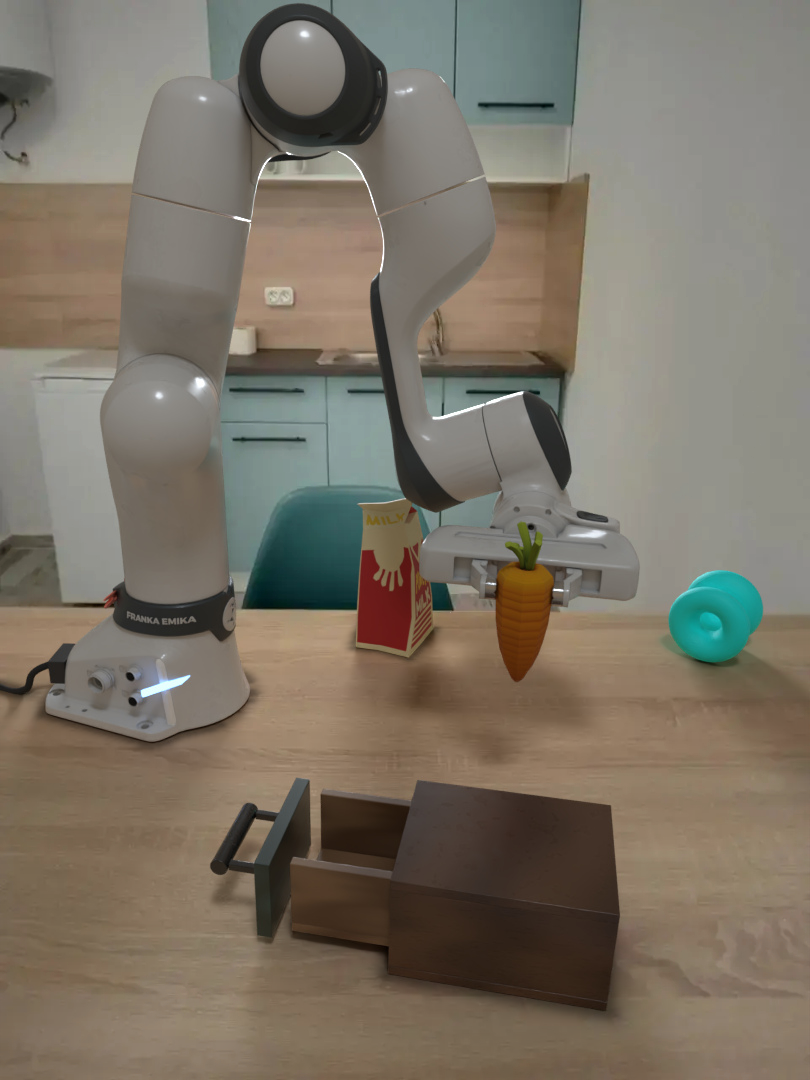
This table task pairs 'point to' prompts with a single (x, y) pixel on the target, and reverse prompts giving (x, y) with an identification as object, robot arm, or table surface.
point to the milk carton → (392, 580)
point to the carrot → (522, 605)
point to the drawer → (322, 863)
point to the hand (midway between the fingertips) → (524, 595)
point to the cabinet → (506, 894)
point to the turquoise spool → (715, 616)
